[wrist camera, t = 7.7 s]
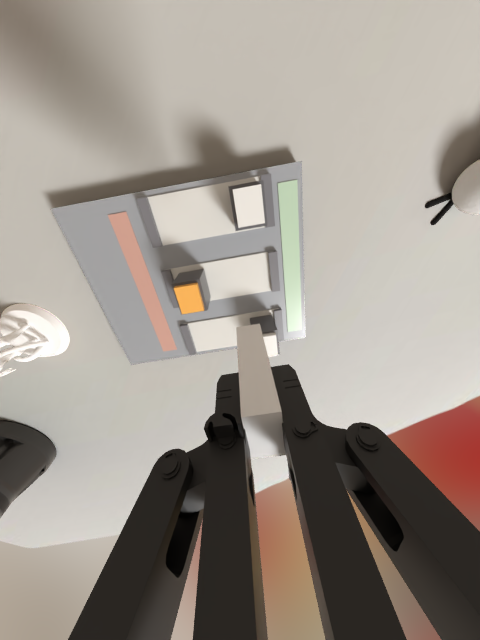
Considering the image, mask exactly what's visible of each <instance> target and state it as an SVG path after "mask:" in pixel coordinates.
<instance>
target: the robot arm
mask: <svg viewBox="0 0 480 640" xmlns="http://www.w3.org/2000/svg"><path fill="white" fill-rule="evenodd" d="M236 332H237V350H238V369H239V373H233V374H226V375H221V377H220V379H219V381H218V382H217V393H216V407H215V413H214V414H213V415H212V416H210V417H209V419H208V420H207V421H206V424H205V427H204V430H205V433H206V435H207V438H208V440H207V441H206V442H205V443H204V444H202V445H201V446H199V447H197V448H195V449H193V450H191V451H189V452H187V453H186V452H185V451H184V450H181V449H172V450H170V451H168V452H166V453H164V454H163V455H162V456H161V457H160V458H159V459H158V460H157V462H156V463H155V465H154V467H153V469H152V471H151V473H150V475H149V477H148V479H147V481H146V483H145V485H144V487H143V489H142V491H141V493H140V495H139V497H138V499H137V501H136V503H135V505H134V507H133V509H132V511H131V513H130V515H129V517H128V519H127V521H126V523H125V525H124V527H123V530H122V532H121V534H120V536H119V538H118V540H117V542H116V544H115V546H114V548H113V550H112V552H111V554H110V556H109V558H108V560H107V562H106V564H105V566H104V568H103V570H102V572H101V574H100V576H99V578H98V580H97V582H96V584H95V586H94V588H93V590H92V592H91V594H90V597H89V598H88V600H87V602H86V604H85V606H84V609H83V611H82V613H81V615H80V617H79V619H78V621H77V623H76V625H75V627H74V629H73V631H72V633H71V635H70V637H69V639H68V640H170V639H171V635H172V632H173V628H174V624H175V620H176V616H177V613H178V609H179V605H180V601H181V598H182V594H183V590H184V586H185V583H186V579H187V575H188V571H189V568H190V564H191V560H192V556H193V552H194V549H195V545H196V541H197V538H198V534H199V530H200V526H201V523H202V519H203V523H202V535H201V547H200V560H199V571H198V584H197V596H196V608H195V620H194V632H193V640H268V637H267V626H266V614H265V603H264V593H263V582H262V569H261V558H260V547H259V536H258V524H257V513H256V502H255V490H254V479H253V472H252V468H251V460H252V459H259V458H266V457H274V456H281V455H286V456H287V461H288V468H289V478H290V480H291V483H292V487H293V491H294V497H295V501H296V505H297V510H298V515H299V520H300V524H301V529H302V533H303V538H304V543H305V547H306V552H307V556H308V561H309V565H310V570H311V575H312V578H313V584H314V589H315V593H316V598H317V602H318V607H319V611H320V616H321V621H322V625H323V629H324V634H325V639H326V640H407V639H406V637H405V635H404V632H403V630H402V627H401V625H400V622H399V620H398V617H397V615H396V612H395V610H394V607H393V605H392V602H391V600H390V597H389V595H388V593H387V590H386V587H385V585H384V583H383V580H382V577H381V575H380V572H379V570H378V568H377V565H376V562H375V560H374V558H373V555H372V553H371V550H370V548H369V545H368V543H367V541H366V538H365V535H364V533H363V530H362V528H361V525H360V523H359V520H358V518H357V516H356V513H355V510H354V508H353V506H352V503H351V500H350V498H349V496H348V493H349V494H350V496H351V498H352V499H353V501H354V502H355V504H356V505H357V507H358V509H359V510H360V512H361V513H362V515H363V516H364V518H365V520H366V521H367V523H368V524H369V526H370V527H371V529H372V531H373V532H374V534H375V535H376V537H377V539H378V540H379V542H380V543H381V545H382V546H383V548H384V550H385V551H386V553H387V554H388V556H389V557H390V559H391V561H392V562H393V564H394V565H395V567H396V568H397V570H398V571H399V573H400V575H401V576H402V578H403V580H404V581H405V583H406V584H407V586H408V587H409V589H410V591H411V592H412V594H413V595H414V597H415V598H416V600H417V601H418V603H419V605H420V606H421V608H422V609H423V611H424V613H425V614H426V616H427V617H428V619H429V620H430V622H431V624H432V625H433V627H434V628H435V630H436V632H437V633H438V635H439V636H440V638H441V639H442V640H480V532H479V531H478V530H477V529H476V528H475V526H474V525H473V524H472V523H471V522H470V521H469V520H468V519H467V518H466V517H465V516H464V515H463V514H462V513H461V512H460V511H459V510H458V509H457V508H456V507H455V506H454V505H453V504H452V503H451V502H450V501H449V500H448V499H447V498H446V496H445V495H444V494H443V493H442V492H441V491H440V490H439V489H438V488H436V486H435V485H434V484H433V483H432V482H431V481H430V480H429V479H428V478H427V477H426V476H425V475H424V474H423V473H422V472H421V471H420V470H419V469H418V468H417V467H416V466H415V464H413V462H412V461H411V460H410V459H409V458H408V457H407V456H406V455H405V454H404V453H403V452H402V451H401V450H400V449H399V448H398V447H397V446H396V445H395V444H394V443H393V442H392V441H391V440H390V439H389V438H388V437H387V436H386V435H385V433H383V432H382V431H381V430H380V429H378V428H377V427H375V426H373V425H371V424H368V423H361V422H360V423H354V424H352V425H351V426H349V427H348V429H347V430H346V429H340V428H334V427H330V426H327V425H324V424H322V423H321V422H319V421H318V420H317V419H316V418H315V417H314V416H313V414H312V412H311V410H310V407H309V405H308V402H307V400H306V397H305V394H304V392H303V389H302V387H301V384H300V382H299V380H298V376H297V374H296V371H295V370H294V369H293V368H292V367H291V366H290V365H289V364H288V365H282V366H275V367H271V366H270V362H269V358H268V354H267V350H266V346H265V342H264V338H263V334H262V330H261V326H260V324H254V325H248V326H241V327H236ZM55 457H56V448H55V446H54V445H53V443H52V442H51V441H50V440H49V439H48V438H47V437H46V436H44V435H43V434H41V433H40V432H38V431H36V430H34V429H32V428H29V427H27V426H24V425H21V424H17V423H13V422H8V421H0V518H1V516H2V515H3V514H4V512H5V511H6V510H7V508H8V507H9V505H10V504H11V503H12V502H13V501H14V500H15V499H16V498H17V497H18V496H19V495H20V494H21V493H22V492H23V491H24V490H26V489H27V488H28V487H29V486H30V485H31V484H32V483H33V482H34V481H35V480H36V479H37V478H38V477H39V476H41V475H42V474H43V473H44V472H45V471H46V470H47V469H48V468H49V466H50V465H51V463H52V462H53V460H54V459H55ZM346 490H347V491H348V493H347V491H346Z"/></svg>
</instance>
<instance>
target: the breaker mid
mask: <svg viewBox="0 0 480 640" xmlns="http://www.w3.org/2000/svg"><path fill="white" fill-rule="evenodd" d="M171 285H172V288H173V291H174V294H175V297H176V300H177V303H178V306H179V309H180V312H181V315H183V314H189V313H195V312H201V311H207V310H208V307H209V303H210V298H211V295H210V291H209V287H208V283H207V279H206V275H205V271H204V269H199V270H193V271H188V272H182V273H179V274H178V275H177V277H176V278H175V280H174V281H173V282H172V284H171Z"/></svg>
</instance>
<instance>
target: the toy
mask: <svg viewBox="0 0 480 640" xmlns="http://www.w3.org/2000/svg"><path fill="white" fill-rule="evenodd" d="M449 199H451V201H450V202H449V203H448V204H447V205H446V206H445V207H444V208H443V210H442V211H441V212H440V213H439V214H438V215H437V216H436V217H435V218H434V219H433V220H432V222H431V225H435V224H436V223H437V222H438V221H439V220H440V219H441V218H442V216H443V215H444V214H445V213H446V212H447V211H448V210H449V209H450V208H451V206H452V205H453V204H454V205H455V206H456V208H458V209H459V210H460V211H462V212H464V213H468V214H473V215H479V214H480V159H479V160H477V161H476V162H474V163H473V164H471V165H470V166H469V167H467V168H466V169H465V170H464V171H463V172H462V173H461V175H460V176H459V177H458V178H457V180H456V182H455V184H454V186H453V189H452V193H450V194H447V195H445V196H442V197H440V198H437V199H435V200H433V201H430V202H428V203H427V204H426V205H425V208H429V207H432V206H434V205H437V204H439V203H441V202H444V201H446V200H449Z"/></svg>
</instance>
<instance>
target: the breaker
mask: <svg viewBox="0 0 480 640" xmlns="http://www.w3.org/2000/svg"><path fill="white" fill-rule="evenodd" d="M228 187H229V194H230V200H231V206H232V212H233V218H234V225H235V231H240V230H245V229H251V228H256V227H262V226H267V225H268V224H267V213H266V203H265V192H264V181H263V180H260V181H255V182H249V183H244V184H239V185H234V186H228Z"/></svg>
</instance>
